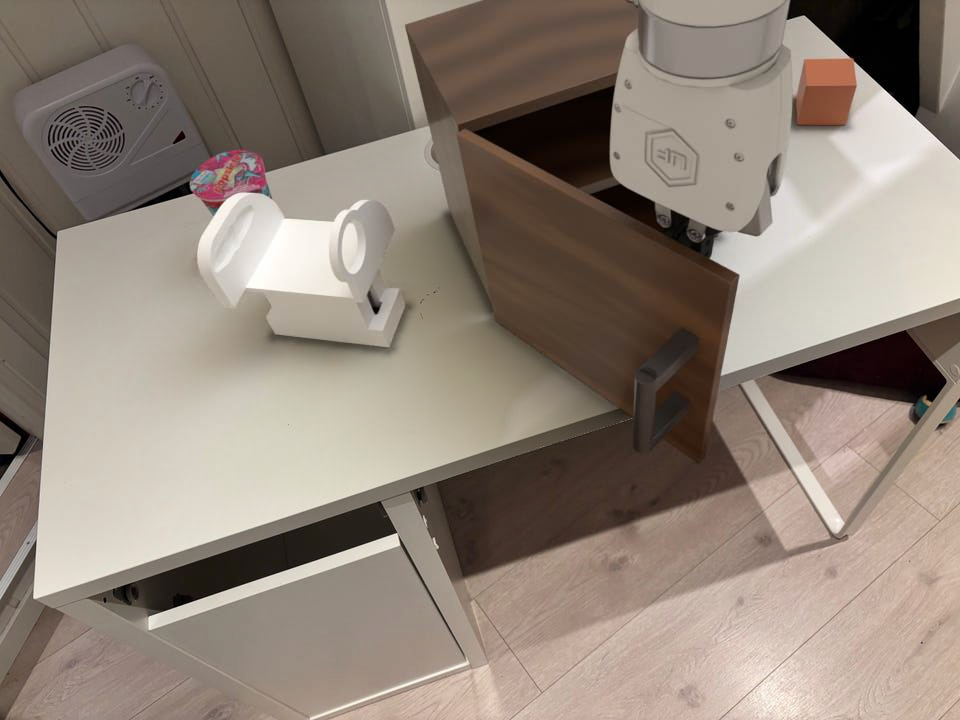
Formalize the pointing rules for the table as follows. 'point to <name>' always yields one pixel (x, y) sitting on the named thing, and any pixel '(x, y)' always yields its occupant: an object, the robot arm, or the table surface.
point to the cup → (229, 178)
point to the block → (825, 91)
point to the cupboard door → (603, 295)
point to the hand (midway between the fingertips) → (685, 263)
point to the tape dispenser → (305, 268)
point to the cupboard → (526, 94)
